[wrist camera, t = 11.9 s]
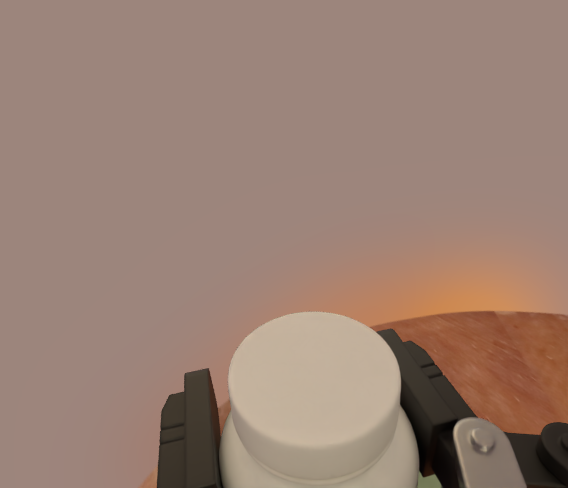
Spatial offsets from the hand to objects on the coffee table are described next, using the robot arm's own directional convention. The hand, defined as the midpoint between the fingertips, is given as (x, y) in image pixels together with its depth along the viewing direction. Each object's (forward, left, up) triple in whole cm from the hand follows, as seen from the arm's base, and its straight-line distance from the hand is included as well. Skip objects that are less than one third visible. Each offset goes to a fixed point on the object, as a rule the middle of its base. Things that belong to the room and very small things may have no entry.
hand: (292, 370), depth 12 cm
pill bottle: (0, +3, -6) cm, 7 cm away
